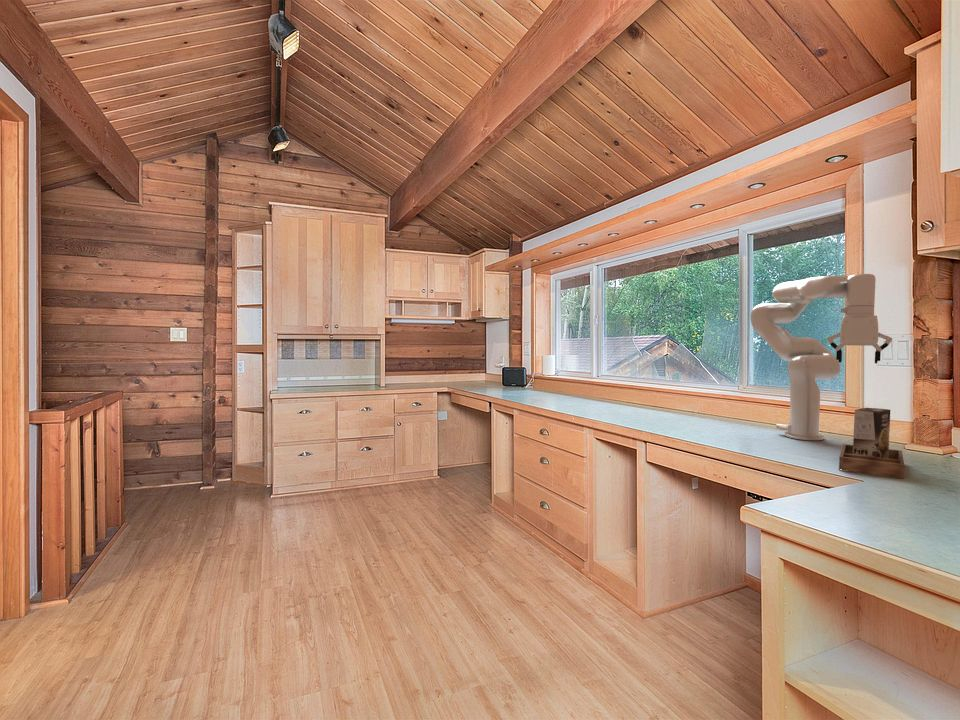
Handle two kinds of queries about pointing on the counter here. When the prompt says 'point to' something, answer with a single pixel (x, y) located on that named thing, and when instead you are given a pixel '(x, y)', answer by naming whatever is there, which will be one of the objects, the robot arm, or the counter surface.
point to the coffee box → (871, 432)
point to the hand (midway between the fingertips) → (857, 362)
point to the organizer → (872, 463)
